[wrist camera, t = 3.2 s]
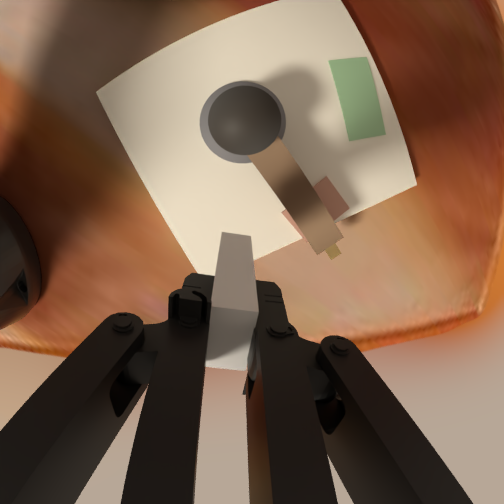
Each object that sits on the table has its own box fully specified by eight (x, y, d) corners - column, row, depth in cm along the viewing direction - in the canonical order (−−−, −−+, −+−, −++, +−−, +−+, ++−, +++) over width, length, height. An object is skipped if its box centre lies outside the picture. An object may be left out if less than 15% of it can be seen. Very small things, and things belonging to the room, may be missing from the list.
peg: (202, 116, 18) (193, 113, 14) (249, 84, 17) (253, 72, 13) (307, 259, 23) (322, 287, 19) (348, 232, 22) (370, 255, 18)
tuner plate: (207, 279, 25) (206, 288, 24) (102, 93, 18) (94, 91, 17) (410, 186, 22) (419, 190, 21) (328, -7, 15) (334, -14, 14)
